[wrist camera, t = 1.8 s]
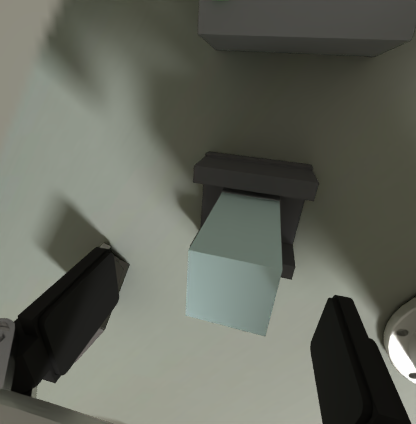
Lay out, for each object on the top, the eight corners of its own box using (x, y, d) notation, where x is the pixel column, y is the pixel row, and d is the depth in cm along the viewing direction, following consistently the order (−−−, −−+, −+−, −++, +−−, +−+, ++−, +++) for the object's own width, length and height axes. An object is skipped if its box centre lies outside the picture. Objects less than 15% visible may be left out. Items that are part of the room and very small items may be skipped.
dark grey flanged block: (311, 164, 18) (320, 179, 15) (288, 252, 22) (291, 281, 18) (208, 151, 20) (194, 162, 16) (202, 235, 23) (189, 259, 20)
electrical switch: (106, 238, 27) (41, 306, 19) (145, 264, 27) (99, 340, 19) (77, 282, 31) (14, 353, 23) (112, 303, 32) (63, 379, 24)
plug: (279, 189, 19) (284, 268, 10) (270, 234, 20) (266, 337, 12) (227, 181, 19) (187, 248, 11) (222, 226, 21) (184, 315, 12)
